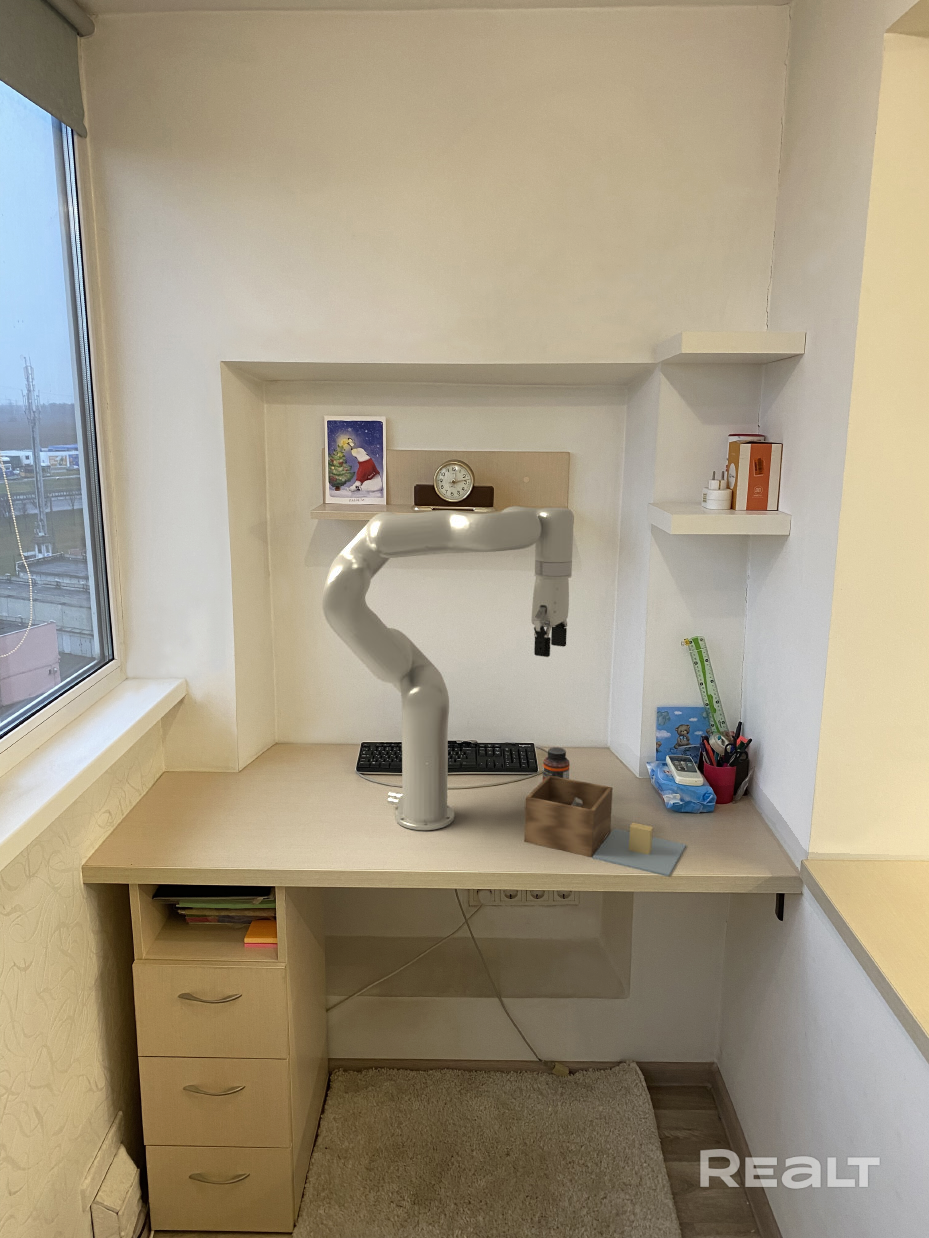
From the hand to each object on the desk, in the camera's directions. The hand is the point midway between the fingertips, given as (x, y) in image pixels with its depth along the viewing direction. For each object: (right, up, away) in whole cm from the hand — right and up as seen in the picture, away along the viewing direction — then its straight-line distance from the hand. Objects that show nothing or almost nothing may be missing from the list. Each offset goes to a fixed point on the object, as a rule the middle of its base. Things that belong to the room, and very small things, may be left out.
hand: (550, 650), depth 179 cm
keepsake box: (+3, -38, -3) cm, 38 cm away
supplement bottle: (+3, -34, +16) cm, 38 cm away
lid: (+17, -40, -9) cm, 44 cm away
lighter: (+2, -38, -2) cm, 38 cm away
